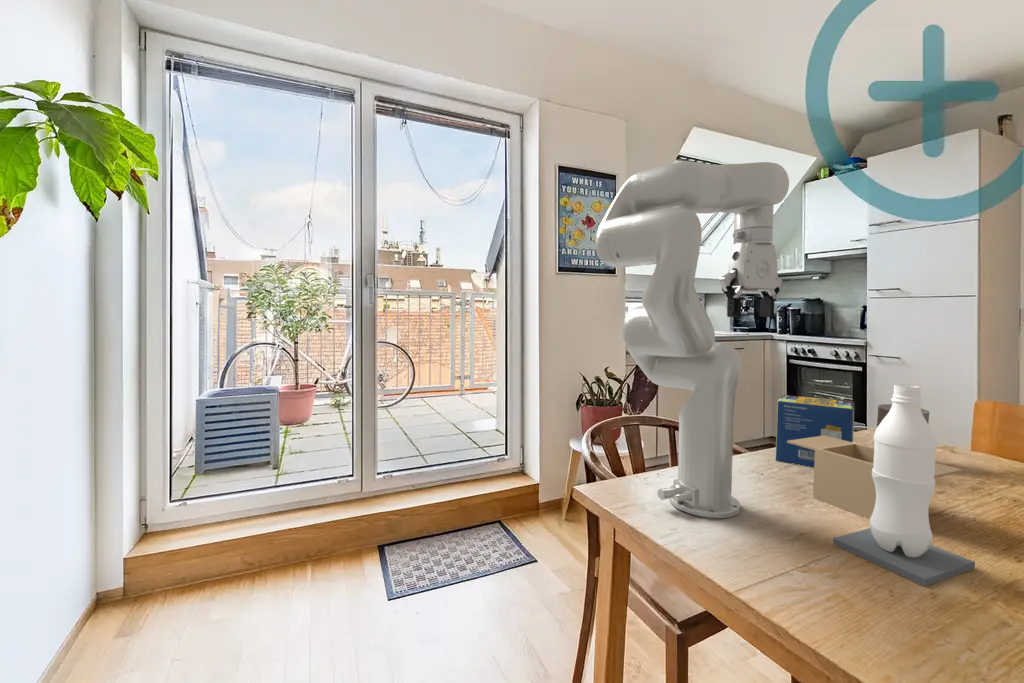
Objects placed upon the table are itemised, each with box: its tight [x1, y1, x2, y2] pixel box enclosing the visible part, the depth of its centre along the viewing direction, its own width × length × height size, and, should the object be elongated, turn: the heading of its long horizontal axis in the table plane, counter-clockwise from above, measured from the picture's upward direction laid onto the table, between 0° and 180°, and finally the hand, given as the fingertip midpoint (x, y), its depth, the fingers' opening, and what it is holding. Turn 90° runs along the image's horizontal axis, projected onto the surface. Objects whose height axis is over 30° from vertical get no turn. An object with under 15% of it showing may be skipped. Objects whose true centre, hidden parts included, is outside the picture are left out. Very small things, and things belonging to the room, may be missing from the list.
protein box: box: [774, 394, 855, 468], centre depth 111 cm, size 10×15×16 cm
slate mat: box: [832, 527, 976, 587], centre depth 68 cm, size 12×12×1 cm
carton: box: [787, 436, 964, 520], centre depth 86 cm, size 12×24×10 cm, turn 21°
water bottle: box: [869, 384, 938, 558], centre depth 67 cm, size 7×7×25 cm
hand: (750, 316), depth 98 cm, fingers open, 9 cm apart
